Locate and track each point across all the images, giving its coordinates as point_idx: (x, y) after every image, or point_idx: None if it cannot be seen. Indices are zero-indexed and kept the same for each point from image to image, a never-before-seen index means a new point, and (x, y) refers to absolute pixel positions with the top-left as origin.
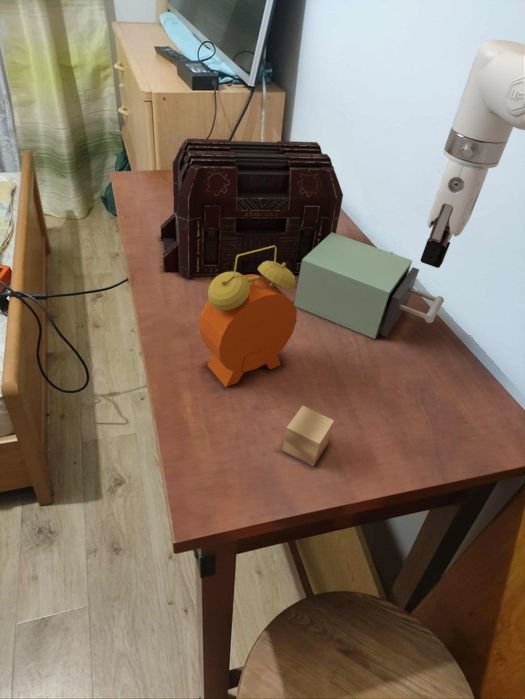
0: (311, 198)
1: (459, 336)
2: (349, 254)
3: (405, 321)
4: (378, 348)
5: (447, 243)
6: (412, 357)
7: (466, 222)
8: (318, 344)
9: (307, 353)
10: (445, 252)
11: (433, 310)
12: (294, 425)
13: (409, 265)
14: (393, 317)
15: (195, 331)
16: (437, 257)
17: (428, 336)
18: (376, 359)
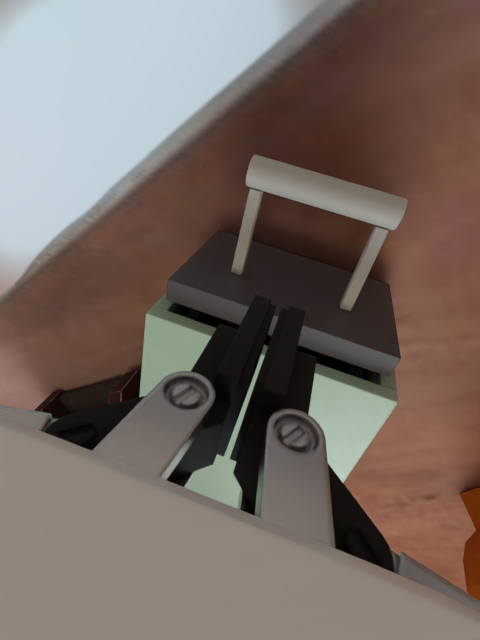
0: None
1: (295, 38)
2: (217, 467)
3: (278, 224)
4: (425, 294)
5: (237, 386)
6: (451, 204)
7: (255, 637)
8: (435, 411)
9: (474, 430)
10: (291, 364)
11: (358, 205)
12: None
13: (176, 319)
14: (389, 314)
15: (435, 560)
16: (313, 375)
17: (329, 154)
18: (476, 299)
